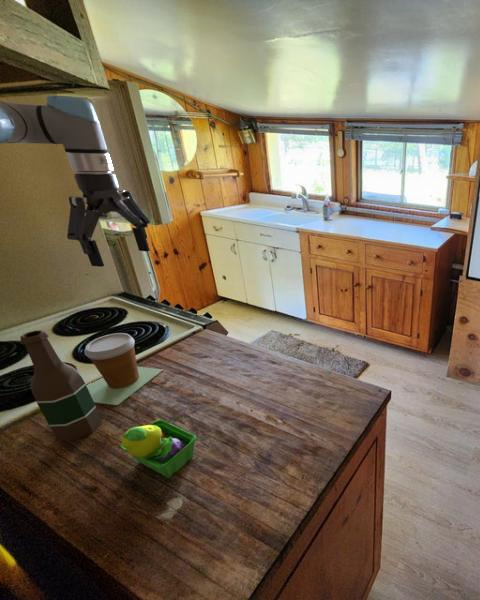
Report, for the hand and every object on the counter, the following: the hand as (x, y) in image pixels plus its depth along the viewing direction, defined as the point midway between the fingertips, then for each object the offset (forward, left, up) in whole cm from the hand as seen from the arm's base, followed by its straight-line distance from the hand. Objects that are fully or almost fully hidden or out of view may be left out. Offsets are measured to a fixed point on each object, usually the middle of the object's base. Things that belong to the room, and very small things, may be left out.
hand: (122, 257), depth 86 cm
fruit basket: (+33, -35, -29) cm, 56 cm away
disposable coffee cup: (+5, -15, -29) cm, 33 cm away
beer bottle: (+9, -30, -29) cm, 43 cm away
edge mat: (+4, -16, -29) cm, 33 cm away
